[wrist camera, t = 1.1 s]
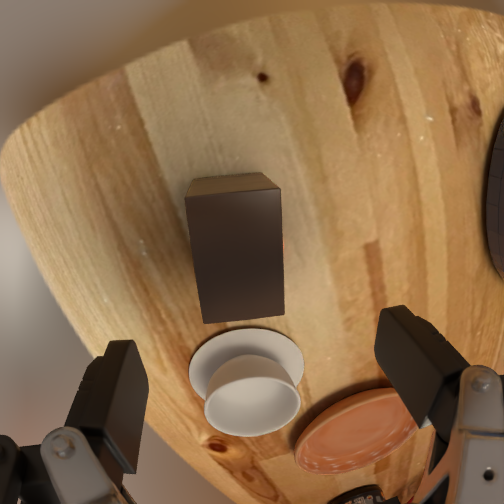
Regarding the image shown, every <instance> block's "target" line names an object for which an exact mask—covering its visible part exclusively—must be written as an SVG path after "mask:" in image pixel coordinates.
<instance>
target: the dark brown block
mask: <svg viewBox="0 0 504 504" xmlns="http://www.w3.org/2000/svg"><path fill="white" fill-rule="evenodd" d="M185 206H186V214H187V221H188V229H189V236H190V243H191V250H192V257H193V264H194V270H195V277H196V283H197V289H198V295H199V301H200V307H201V313H202V319H203V323H204V324H211V323H221V322H230V321H239V320H248V319H257V318H265V317H273V316H280V315H284V314H285V303H284V263H283V233H282V207H281V189H280V188H279V187H278V186H277V185H276V184H275V183H273V182H272V181H271V180H270V179H269V178H268V177H266V176H265V175H264V174H263V173H248V174H236V175H226V176H216V177H206V178H197V179H193V181H192V183H191V185H190V188H189V190H188V192H187V194H186V196H185Z"/></svg>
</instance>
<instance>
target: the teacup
mask: <svg viewBox="0 0 504 504" xmlns="http://www.w3.org/2000/svg"><path fill="white" fill-rule="evenodd" d="M303 372H304V359H303V356H302V353H301V351H300V350H299V348H298V347H297V345H296V344H295V343H294V342H292V341H291V340H290V339H289V338H287V337H285V336H283V335H281V334H279V333H276V332H273V331H270V330H264V329H239V330H234V331H230V332H227V333H224V334H221V335H219V336H216V337H215V338H213V339H211V340H209V341H208V342H206V343H205V344H204V345H203V346H202V347H200V349H199V350H198V351H197V352H196V353H195V355H194V356H193V358H192V360H191V363H190V367H189V379H190V382H191V385H192V387H193V388H194V390H195V391H196V393H197V394H198V395H199V396H200V397H201V398H203V399H204V400H205V404H204V414H205V417H206V419H207V421H208V422H209V423H210V424H211V425H212V426H213V427H214V428H216V429H218V430H219V431H221V432H224V433H226V434H230V435H235V436H245V437H248V436H259V435H264V434H267V433H271V432H273V431H276V430H278V429H280V428H282V427H283V426H285V425H286V424H288V423H289V422H290V421H291V420H292V419H293V418H294V417H295V416H296V414H297V413H298V411H299V408H300V403H301V400H300V395H299V393H298V391H297V389H296V386H297V385H298V384H299V382H300V380H301V378H302V375H303Z"/></svg>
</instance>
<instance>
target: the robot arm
mask: <svg viewBox="0 0 504 504" xmlns="http://www.w3.org/2000/svg"><path fill="white" fill-rule="evenodd" d="M374 351H375V357H376V360H377V362H378V364H379V365H380V367H381V368H382V370H383V371H384V373H385V374H386V376H387V378H388V379H389V381H390V382H391V384H392V385H393V387H394V389H395V390H396V392H397V393H398V395H399V396H400V398H401V400H402V401H403V403H404V404H405V406H406V408H407V409H408V411H409V413H410V414H411V416H412V417H413V419H414V421H415V422H416V424H417V426H418V427H419V429H422V428H424V427H426V426H429V425H431V424H432V425H433V426H434V428H435V430H434V431H433V434H432V438H431V443H430V448H429V453H428V457H427V462H426V466H425V470H424V474H423V478H422V481H421V484H420V486H419V488H418V490H417V492H416V494H415V496H414V498H413V500H412V503H407V504H504V375H498V374H497V373H496V372H495V371H494V370H492V369H491V368H489V367H486V366H483V365H473V366H471V365H470V364H469V363H468V362H467V361H466V360H465V359H464V358H463V357H462V356H461V355H460V353H459V352H458V351H457V350H456V349H455V348H454V347H453V346H452V345H451V344H450V343H449V342H448V341H446V339H445V337H444V336H443V335H442V334H441V333H439V331H438V330H437V329H436V328H435V327H434V326H433V325H432V324H431V323H430V322H428V321H426V320H424V319H423V318H421V317H419V316H415V315H414V314H413V313H412V312H411V311H410V310H409V309H408V308H407V307H406V306H405V305H398V306H393V307H389V308H384V309H382V310H381V312H380V316H379V322H378V328H377V334H376V339H375V345H374ZM148 393H149V384H148V378H147V374H146V371H145V369H144V366H143V363H142V360H141V357H140V355H139V352H138V349H137V346H136V343H135V342H134V340H113V341H110V342H109V344H108V346H107V349H106V351H105V353H104V356H97V357H96V358H95V359H94V360H93V362H92V363H91V364H90V365H89V366H88V367H87V369H86V372H85V374H84V376H83V381H81V383H80V386H79V391H77V393H76V396H75V398H74V401H73V403H72V406H71V409H70V411H69V414H68V417H67V419H66V422H65V425H64V427H60V428H57V429H55V430H53V431H51V432H50V433H49V434H47V435H46V437H45V438H44V440H43V442H42V444H39V445H31V446H23V447H18V445H17V444H16V443H15V442H14V441H13V440H12V439H11V438H10V437H8V436H6V435H0V504H17V501H18V498H19V499H20V500H21V504H136V502H135V501H134V499H133V498H132V497H131V495H130V494H129V492H128V491H127V490H126V488H125V487H124V485H123V484H122V480H123V473H126V474H136V470H137V462H138V455H139V448H140V441H141V435H142V428H143V422H144V416H145V410H146V404H147V399H148ZM377 504H400V502H399V499H398V497H397V496H396V497H393V498H391V499H388V500H385V501H383V502H380V503H377Z"/></svg>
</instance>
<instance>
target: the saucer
mask: <svg viewBox="0 0 504 504" xmlns="http://www.w3.org/2000/svg"><path fill="white" fill-rule="evenodd" d="M417 429H418V426H417V424H416V422H415V421H414V419H413V417H412V416H411V414H410V413H409V411H408V409H407V408H406V406H405V404H404V403H403V401H402V400H401V398H400V396H399V395H398V393H397V392H396V390H395V389H394V388H379V389H371V390H367V391H363V392H360V393H357V394H354V395H351V396H349V397H347V398H344V399H342V400H340V401H339V402H337V403H335V404H333V405H332V406H330V407H329V408H327V409H326V410H324V411H323V412H322V413H321V414H319V415H318V416H317V417H316V418H315V419H314V420H313V421H312V422H311V423H310V424H309V425H308V427H307V428H306V429H305V430H304V431H303V433H302V434H301V435H300V437H299V438H298V440H297V442H296V445H295V448H294V457H295V462H296V464H297V465H298V466H299V467H300V468H301V469H302V470H304V471H306V472H309V473H312V474H319V475H332V474H340V473H346V472H350V471H353V470H357V469H360V468H363V467H365V466H368V465H370V464H372V463H375V462H377V461H379V460H381V459H382V458H384V457H386V456H388V455H389V454H391V453H392V452H394V451H395V450H397V449H398V448H399V447H400V446H402V445H403V444H404V443H405V442H406V441H407V440H408V439H409V438H410V437H411V436H412V435H413V434H414V433H415V432H416V430H417Z"/></svg>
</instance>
